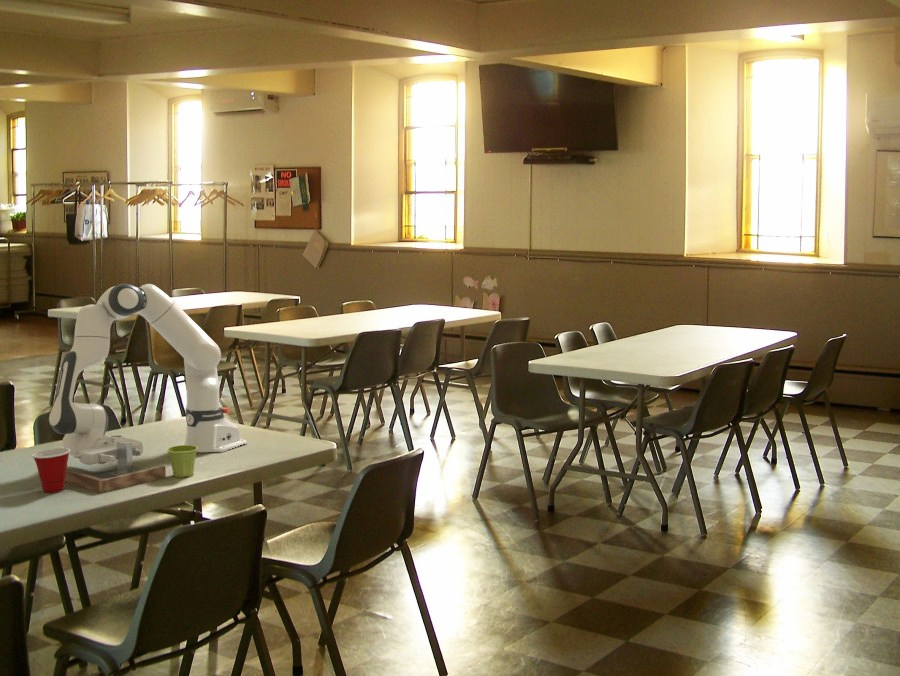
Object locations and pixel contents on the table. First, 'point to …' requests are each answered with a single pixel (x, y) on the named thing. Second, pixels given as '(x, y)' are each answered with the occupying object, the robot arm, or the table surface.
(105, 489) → the corner walls
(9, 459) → the table surface
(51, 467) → the plastic cup
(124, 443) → the steel bookend
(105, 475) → the felt mat
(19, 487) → the table surface
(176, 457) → the plant pot
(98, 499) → the table surface
